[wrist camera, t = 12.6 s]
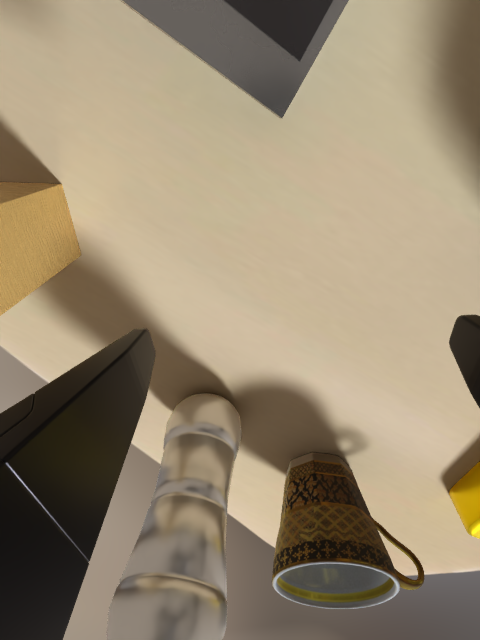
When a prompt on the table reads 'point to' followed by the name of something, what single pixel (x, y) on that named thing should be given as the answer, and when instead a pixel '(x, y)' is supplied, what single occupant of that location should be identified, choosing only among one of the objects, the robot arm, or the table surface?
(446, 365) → the table surface
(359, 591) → the ceramic cup
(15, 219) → the tan rectangular block
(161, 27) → the grey slotted base
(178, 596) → the plastic bottle
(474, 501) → the yellow flat box
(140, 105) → the table surface
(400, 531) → the table surface
